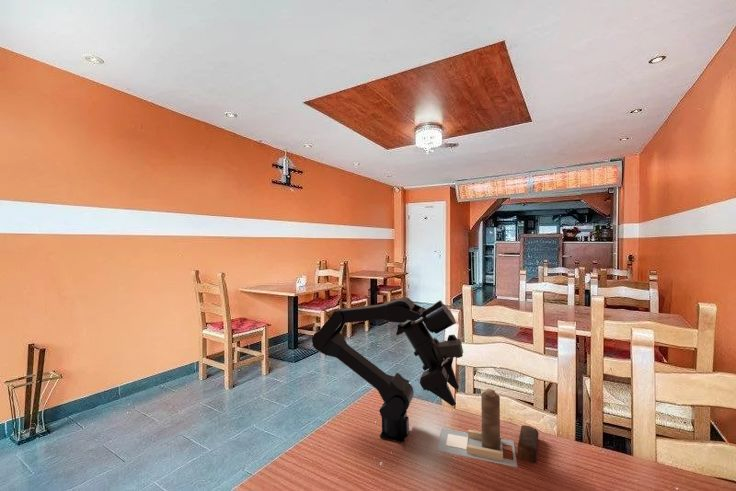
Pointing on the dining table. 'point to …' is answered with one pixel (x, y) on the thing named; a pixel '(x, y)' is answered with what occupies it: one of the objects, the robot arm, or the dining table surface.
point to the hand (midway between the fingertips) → (455, 396)
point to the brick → (528, 444)
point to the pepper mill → (490, 420)
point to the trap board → (473, 446)
